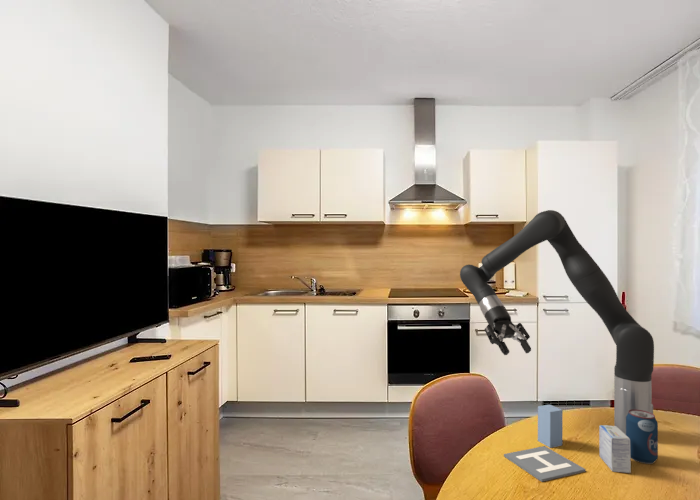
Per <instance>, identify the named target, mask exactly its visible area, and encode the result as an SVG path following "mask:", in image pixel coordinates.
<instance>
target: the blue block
mask: <svg viewBox="0 0 700 500" xmlns="http://www.w3.org/2000/svg"><path fill="white" fill-rule="evenodd" d="M537 442H539V443H541V444H543V445H544V446H545V447H547V448H549V449H551V448H556V447H560V446H563V409H561V408H560V407H557V406H554V405H552V404H545V405H538V406H537Z"/></svg>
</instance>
